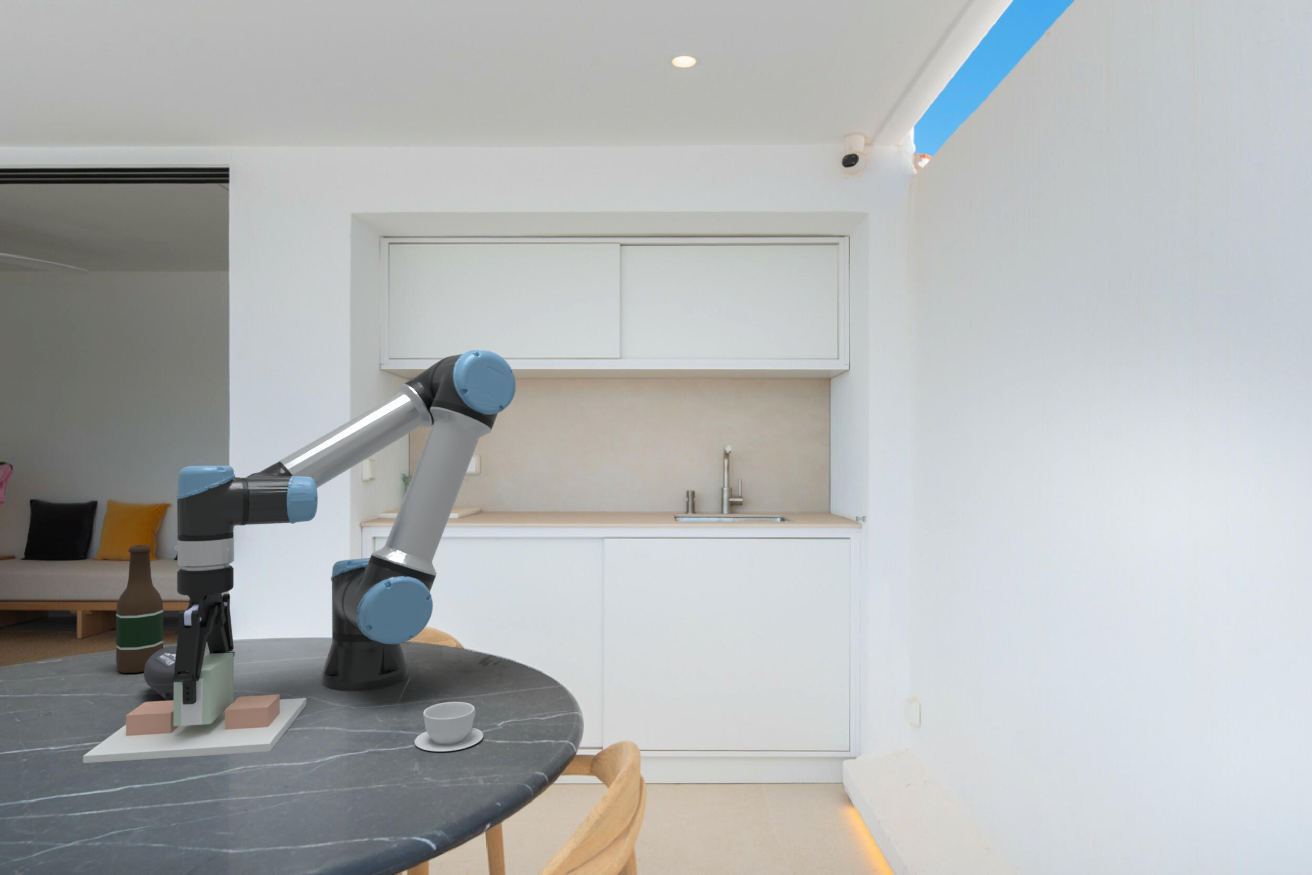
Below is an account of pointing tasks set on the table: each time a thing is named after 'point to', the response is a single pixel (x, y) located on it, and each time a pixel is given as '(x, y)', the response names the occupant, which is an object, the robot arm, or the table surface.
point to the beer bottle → (138, 615)
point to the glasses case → (161, 672)
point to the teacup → (449, 727)
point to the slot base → (199, 731)
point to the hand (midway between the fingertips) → (205, 712)
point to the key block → (211, 687)
